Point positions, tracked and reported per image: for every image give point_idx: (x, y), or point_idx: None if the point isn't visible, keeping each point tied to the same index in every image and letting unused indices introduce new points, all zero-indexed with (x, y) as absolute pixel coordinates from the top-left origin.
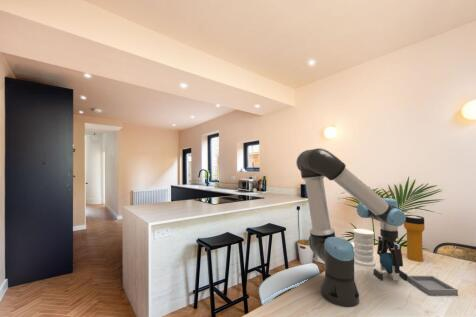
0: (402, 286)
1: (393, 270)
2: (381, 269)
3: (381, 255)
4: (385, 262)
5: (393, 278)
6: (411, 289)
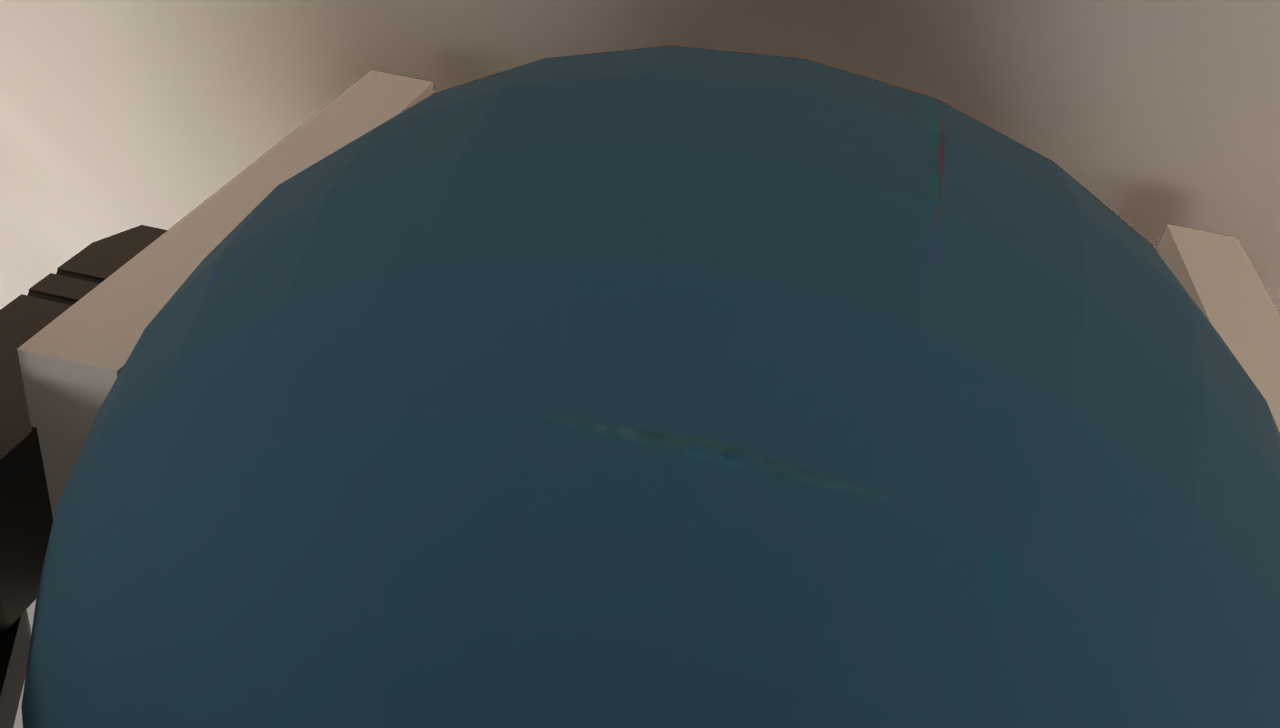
0: (186, 117)
1: (195, 221)
2: (1178, 251)
3: (1006, 602)
4: (344, 156)
5: (368, 82)
6: (39, 226)
